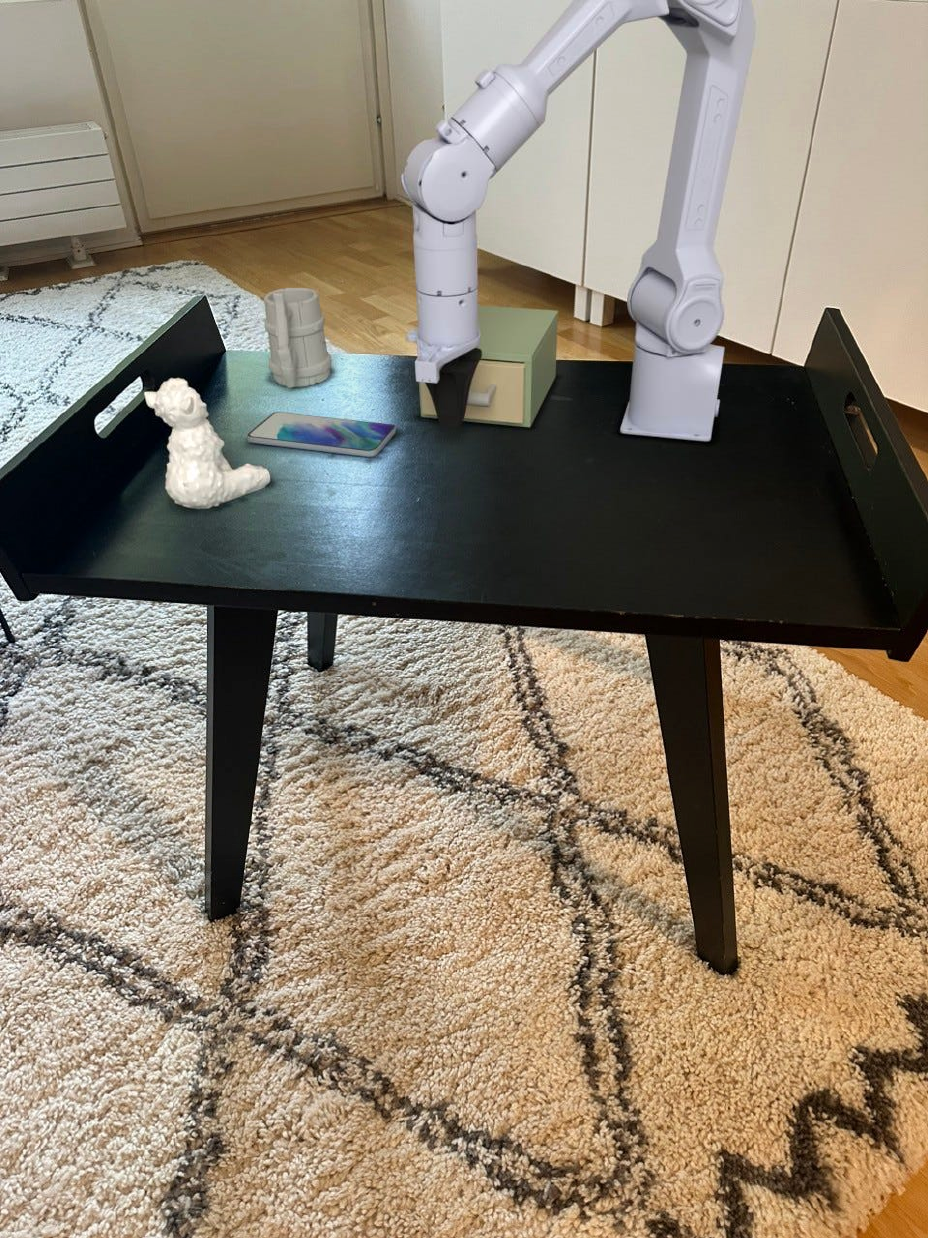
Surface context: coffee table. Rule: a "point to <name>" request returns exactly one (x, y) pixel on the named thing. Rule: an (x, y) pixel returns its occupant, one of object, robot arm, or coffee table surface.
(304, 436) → the smartphone
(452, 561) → the coffee table surface
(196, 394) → the white creature statuette
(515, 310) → the cabinet
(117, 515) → the coffee table surface
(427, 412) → the drawer
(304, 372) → the mug
